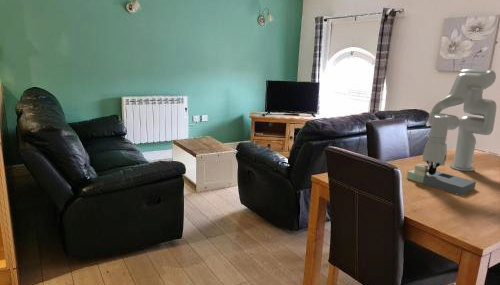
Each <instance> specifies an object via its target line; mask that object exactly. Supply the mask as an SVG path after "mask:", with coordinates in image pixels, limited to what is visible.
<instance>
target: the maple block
mask: <svg viewBox="0 0 500 285" xmlns="http://www.w3.org/2000/svg"><path fill="white" fill-rule="evenodd" d="M414 169H415V170H414ZM414 169H413V170H414V175H418V176H423V177H424V176H426V175H427V169H429V166H428V164H422V163H416V164H415V165H414Z"/></svg>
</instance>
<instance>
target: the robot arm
mask: <svg viewBox="0 0 500 285" xmlns="http://www.w3.org/2000/svg"><path fill="white" fill-rule="evenodd" d="M496 79H497V74H496V72H495V71H494V70H492V69H480V68H479V69H478V68H476V69H475V68H464V69H461V70H460V71H459V73H458V74H457V76H456V78H455V79H454V82H453V85H452V87H451V88H450V91H449V93H448V95H447V96H446V97H444V98H442V99H441V100H439V101H438V102H436V103H435V104H434V106H433V108H432V109H431V112H430V114H429V115H428V116H429V117H428V120H427V122H428V125H429V126H430V132H429V135H426V136H427V137H426V139H428V140H427V141H426V144H425V145H424V146H425V147H424V149H423V153H422V161H423V162H424V163H426V165H428V169H429V174H431V175H434V174H435V173H436V171H437V168H438V167H442V166H443V167H444V166H446V161H447V151H448V149H447V148H448V146H447V143H446V142H447V136H448V131H449V130H450V131H454V130H456V129H457V128H458V129H457V130H458V133H457V138H456V140H457V141H456V144H455V151H454V157H453V162H452V163H450V164H449V167H450V168H452V169H454V170H457V171H461V172H473V171H474V169H475V167H473V165H472V164H473V162H474V161H473V158H474V155H475V154H474V153H475V149H476V143H477V140H476V137H475V134H476V135H482V136H489V135H491V134H492V132H493V130H494V127H495V126H494V125H495V119H496V113H497V103H496V101H495V100H494V99H493V100H492V99H487V98H483V92H484V90H486V89H488V88H490V87H491V86H492V85H493V84H494V83H495V82H496ZM462 104H463V108H462V109H463V112H464V114H467V115H463V116H461V117H460V118H459V117H458V116H457V115H453V114H447V113H441V112H442V111H444V110H445V109H448V108H451V107H452V108H453V107H455V106H460V105H462ZM480 116H481V117H480Z"/></svg>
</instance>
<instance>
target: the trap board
mask: <svg viewBox="0 0 500 285" xmlns="http://www.w3.org/2000/svg"><path fill="white" fill-rule="evenodd" d="M414 170H415V168H414V169H411V170H408V171H407V175H406V179H407V180H411V181H413V182H417V183H420V184H422V185H423V184H424V185H427V186H430V187H433V188H436V189H439V188H440V190H442V189H443V190H442V191H446V192H450V193H452V194H456V195H459V196H462V195H465V194H467V193H469V192H471V191H473V190H475V189H476V183H477V182H476V181H475V180H471V179H467V178H463V177H460V176H456V175H453V174H448V173H445V172H441V171H438V170H436V173H435V174H434V175H431V174H429V168H428V169H427V175H426V176H424V177H423V176H418V175H414Z"/></svg>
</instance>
